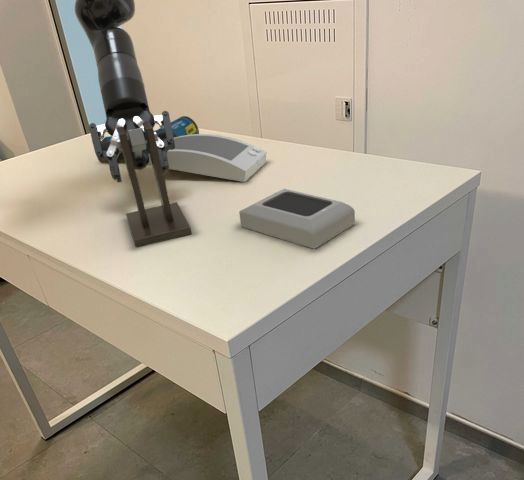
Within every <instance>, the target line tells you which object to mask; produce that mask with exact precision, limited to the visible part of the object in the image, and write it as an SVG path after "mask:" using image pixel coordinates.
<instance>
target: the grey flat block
mask: <svg viewBox="0 0 524 480" xmlns="http://www.w3.org/2000/svg"><path fill="white" fill-rule="evenodd" d="M238 213H239V220H240V226H241V228H244V229H247V230H250V231H254V232H257V233H260V234H264V235H267V236H271V237H274V238H276V239H280V240H283V241H288V242H290V243H293V244H297V245H300V246H304V247H307V248H309V249H313V250H316V249H317V248H319V247H321V246H322V245H324V244H325V243H328V241H330V240H332V239H333V238H335V237H337V236H338V235H340V234H342V233H343V232H344V231H346V230H348V229H349V228H351V227H353V226H354V225H356V211H355V209H354V208H353V207H352V206H351V205H350V204H347V203H345V202H343V201H340V200H336V199H331V198H327V197H322V196H319V195H314V194H310V193H304V192H301V191H296V190H291V189H286V188H283V189H280V190H278V191H277V192H273V194H270V195H268V196H266V197H265V198H262V199H260V200H258V201H257V202H254V203H253V204H251V205H249V206H247V207H245V208H242V209H241V210H239V212H238Z"/></svg>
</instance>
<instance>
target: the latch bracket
mask: <svg viewBox="0 0 524 480" xmlns="http://www.w3.org/2000/svg"><path fill="white" fill-rule="evenodd" d="M143 128H144V132H145V136H146V141H147V145H148V149H149V153H150V158H151V162H152V166H151V167H152V170H153V174H154V178H155V179H154V180H155V184H156V186H157V187H156V188H157V191H158V196H159V201H160V204H161V205H158V206H157V205H156V206H153V207H148V208H145V203H144V199H143V196H142V192H141V188H140V184H139V179H138V176H137V171H136V169H135V168H134V164H133V160H132V156H131V152H130V148H129V144H128V140H127V136H126V133H125V131H124V128H123V127H117V128H116V129H117V133H118V137H119V139H116V141H117V145H118V148H119V149H121V148H122V152H123V156H124V159H123V161H124V163H125V167H126V170H127V175H128V178H129V182H130V187H131V189H132V195H133V197H134V201H135V205H136V209H137V210H135V211H130V212H126V213H125V217H126V220H127V223H128V226H129V229H130V233H131V236H132V239H133V240H132V241H133V243H134V246H135V247H136V248H138V247H142V246H146V245H150V244H156V243H159V242H163V241H167V240H171V239H176V238H181V237H185V236H188V235H189V236H190V235H192V234H193V233H192V228H191V226H190V224H189V222H188V220H187V218H186V216H185V214H184V212H183V211H182V209H181V207H180V206H179V204H178V202H177V201H175V202H170V198H169V194H168V189H167V185H166V180H165V176H164V175H165V174H163V171H162V166H161V162H160V157H159V153H158V148H157V144H156V141H158V137H157V133H156V131H155V130H154V127H152V126H151V124H150V123H149V121H148V122H143Z"/></svg>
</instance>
